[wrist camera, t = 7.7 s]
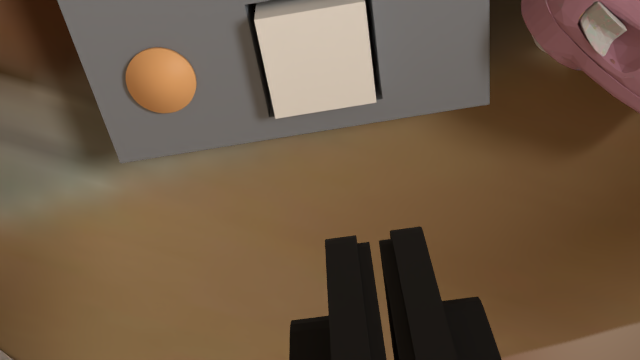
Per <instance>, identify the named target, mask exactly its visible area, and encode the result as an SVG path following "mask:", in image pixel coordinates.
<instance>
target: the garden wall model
mask: <svg viewBox="0 0 640 360" xmlns="http://www.w3.org/2000/svg"><path fill="white" fill-rule="evenodd" d="M0 360H13V359H11V358H10V357H9V356H8V355H6V354H5V353H4V352H2V351H1V350H0Z"/></svg>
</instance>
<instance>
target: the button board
mask: <svg viewBox="0 0 640 360" xmlns="http://www.w3.org/2000/svg"><path fill="white" fill-rule="evenodd" d="M57 1H58V4H59V6H60V9H61V11H62V14H63V17H64V19H65V22H66V24H67V27H68V30H69V32H70V35H71V37H72V40H73V42H74V45H75V48H76V50H77V53H78V55H79V58H80V60H81V63H82V66H83V68H84V71H85V73H86V76H87V79H88V81H89V84H90V86H91V89H92V91H93V94H94V97H95V99H96V102H97V104H98V107H99V110H100V112H101V115H102V117H103V120H104V122H105V125H106V128H107V130H108V133H109V135H110V138H111V140H112V143H113V146H114V148H115V151H116V153H117V156H118V159H119V161H120V163H126V162H132V161H138V160H144V159H151V158H157V157H163V156H169V155H176V154H182V153H188V152H194V151H201V150H207V149H213V148H219V147H226V146H232V145H238V144H244V143H251V142H257V141H263V140H269V139H276V138H282V137H288V136H294V135H301V134H307V133H313V132H319V131H326V130H332V129H338V128H344V127H351V126H357V125H363V124H369V123H375V122H382V121H388V120H394V119H400V118H407V117H413V116H419V115H425V114H432V113H438V112H444V111H450V110H457V109H463V108H469V107H475V106H482V105H488V104H490V16H489V0H366V5H367V14H368V23H369V32H370V41H371V50H372V59H373V68H374V73H373V76H374V84H375V93H376V102H377V103H371V104H365V105H358V106H352V107H346V108H340V109H334V110H327V111H321V112H315V113H309V114H303V115H296V116H290V117H284V118H278V119H275V114H274V110H273V105H272V100H271V96H270V91H269V87H268V82H267V77H266V73H265V68H264V63H263V59H262V54H261V49H260V45H259V40H258V36H257V31H256V26H255V22H254V17H255V16H254V11H253V6H252V4H253V3H258V2H264V1H270V0H57Z"/></svg>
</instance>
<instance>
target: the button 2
mask: <svg viewBox="0 0 640 360" xmlns="http://www.w3.org/2000/svg"><path fill="white" fill-rule="evenodd" d="M254 22H255V26H256V31H257V36H258V40H259V45H260V49H261V54H262V59H263V63H264V68H265V73H266V77H267V82H268V87H269V91H270V96H271V100H272V105H273V110H274V114H275V119H278V118H284V117H290V116H296V115H303V114H309V113H315V112H321V111H327V110H334V109H340V108H346V107H352V106H358V105H365V104H371V103H377V102H376V93H375V84H374V76H373V67H372V58H371V49H370V40H369V31H368V22H367V13H366V5H365V0H270V1H264V2H258V3H256V9H255V17H254Z"/></svg>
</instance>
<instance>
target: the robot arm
mask: <svg viewBox="0 0 640 360" xmlns="http://www.w3.org/2000/svg"><path fill="white" fill-rule="evenodd" d="M390 238H391V239H388V240H380V241H379V245H380V253H381V261H382V269H383V276H384V284H385V292H386V300H387V308H388V316H389V323H390V331H391V339H392V347H393V354H394V360H501V357H500V354H499V351H498V348H497V345H496V342H495V339H494V337H493V334H492V331H491V328H490V325H489V322H488V319H487V316H486V314H485V311H484V308H483V305H482V303H481V300H480V299H479V298H478V297H472V298H464V299H456V300H448V301H442V300H441V297H440V293H439V289H438V285H437V282H436V278H435V274H434V271H433V267H432V263H431V260H430V256H429V252H428V248H427V245H426V241H425V237H424V234H423V230H422V228H421V227H414V228H407V229H399V230H392V231H390ZM325 249H326V269H327V289H328V308H329V316H323V317H316V318H308V319H300V320H292V321H291V325H290V356H289V360H386V353H385V346H384V340H383V333H382V326H381V319H380V312H379V306H378V299H377V292H376V285H375V278H374V272H373V265H372V258H371V251H370V244H369V242H366V243H358V244H357V239H356V235H355V236H348V237H341V238H333V239H326V240H325Z"/></svg>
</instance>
